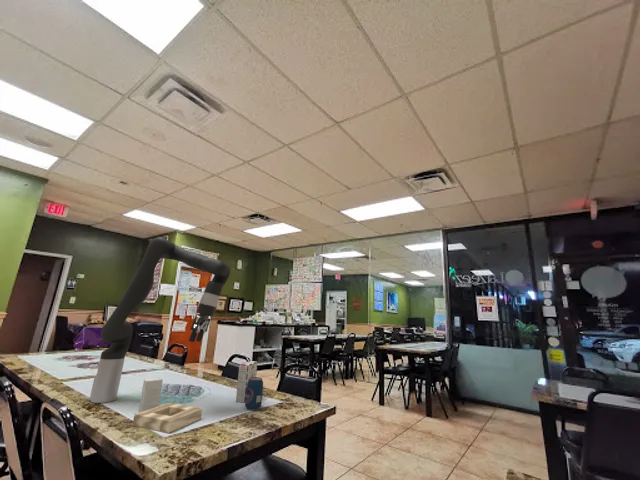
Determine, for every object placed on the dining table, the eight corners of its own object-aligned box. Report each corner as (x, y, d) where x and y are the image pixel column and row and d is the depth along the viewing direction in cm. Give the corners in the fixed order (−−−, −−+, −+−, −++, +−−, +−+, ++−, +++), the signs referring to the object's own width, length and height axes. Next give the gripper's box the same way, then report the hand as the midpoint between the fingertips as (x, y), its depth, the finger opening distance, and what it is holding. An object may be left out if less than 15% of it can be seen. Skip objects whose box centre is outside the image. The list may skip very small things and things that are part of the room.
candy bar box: (245, 396, 146) (249, 360, 150) (254, 397, 145) (258, 361, 149) (234, 402, 135) (238, 363, 139) (244, 403, 134) (248, 364, 138)
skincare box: (154, 409, 120) (159, 377, 123) (157, 412, 117) (163, 379, 120) (137, 411, 116) (143, 379, 119) (140, 414, 113) (146, 381, 116)
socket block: (132, 425, 103) (134, 414, 104) (167, 412, 117) (169, 402, 118) (168, 433, 98) (170, 421, 99) (201, 418, 113) (202, 408, 113)
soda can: (241, 407, 128) (244, 377, 131) (254, 405, 132) (257, 376, 135) (250, 412, 123) (253, 380, 126) (264, 408, 128) (266, 378, 131)
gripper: (205, 304, 139) (192, 339, 133) (194, 300, 125) (180, 339, 120) (220, 308, 139) (208, 343, 133) (211, 304, 125) (197, 344, 120)
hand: (194, 341), depth 127 cm, fingers open, 8 cm apart
